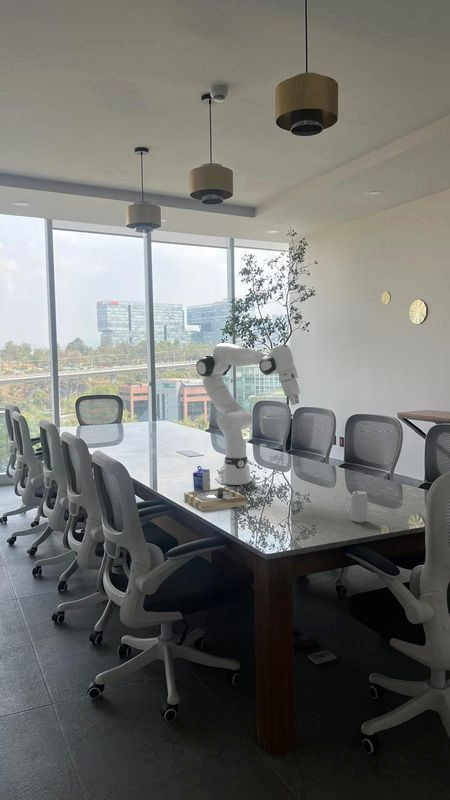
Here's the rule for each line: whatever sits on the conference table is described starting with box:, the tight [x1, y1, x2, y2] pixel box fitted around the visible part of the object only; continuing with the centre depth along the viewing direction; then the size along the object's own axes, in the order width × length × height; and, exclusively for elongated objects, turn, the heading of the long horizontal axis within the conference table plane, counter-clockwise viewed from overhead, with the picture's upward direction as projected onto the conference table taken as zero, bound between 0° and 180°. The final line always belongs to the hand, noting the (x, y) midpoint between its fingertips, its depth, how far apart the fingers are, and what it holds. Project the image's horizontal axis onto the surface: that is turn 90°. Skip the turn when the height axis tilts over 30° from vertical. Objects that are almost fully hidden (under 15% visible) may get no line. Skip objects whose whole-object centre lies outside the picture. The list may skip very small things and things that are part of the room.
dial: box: [197, 487, 233, 501], centre depth 275 cm, size 17×17×6 cm
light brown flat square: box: [183, 487, 247, 512], centre depth 275 cm, size 22×22×4 cm
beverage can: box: [350, 490, 369, 524], centre depth 241 cm, size 6×6×12 cm
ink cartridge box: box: [192, 465, 211, 491], centre depth 292 cm, size 10×6×14 cm, turn 161°
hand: (295, 404), depth 287 cm, fingers open, 8 cm apart
